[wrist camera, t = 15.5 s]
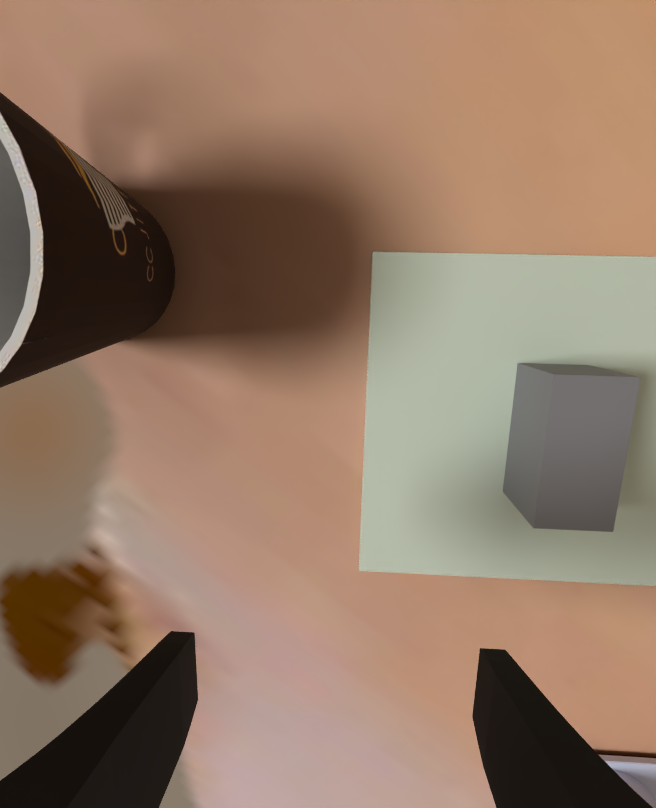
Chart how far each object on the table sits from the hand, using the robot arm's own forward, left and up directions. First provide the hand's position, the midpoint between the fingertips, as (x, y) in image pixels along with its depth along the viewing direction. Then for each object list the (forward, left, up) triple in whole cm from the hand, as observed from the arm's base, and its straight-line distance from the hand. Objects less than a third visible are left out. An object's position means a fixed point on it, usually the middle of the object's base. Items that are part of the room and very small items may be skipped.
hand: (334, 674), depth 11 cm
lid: (+4, -9, -11) cm, 15 cm away
